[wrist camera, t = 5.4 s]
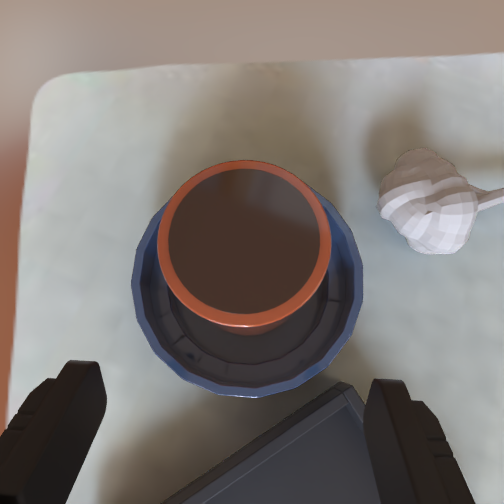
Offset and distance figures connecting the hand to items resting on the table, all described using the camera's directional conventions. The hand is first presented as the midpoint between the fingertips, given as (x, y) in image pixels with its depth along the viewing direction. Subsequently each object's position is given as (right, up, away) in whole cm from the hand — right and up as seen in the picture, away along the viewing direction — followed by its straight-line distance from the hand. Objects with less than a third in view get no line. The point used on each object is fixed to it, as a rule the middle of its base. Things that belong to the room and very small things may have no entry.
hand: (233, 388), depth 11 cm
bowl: (0, +2, +11) cm, 11 cm away
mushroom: (+14, +7, +12) cm, 20 cm away
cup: (0, +2, +10) cm, 11 cm away
